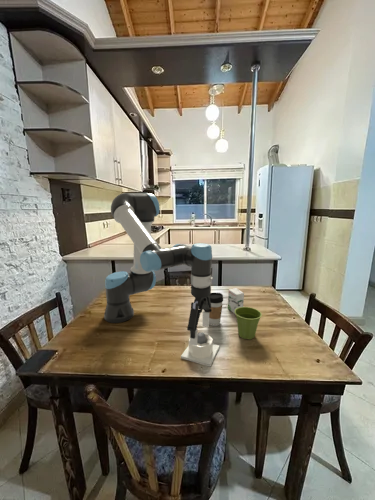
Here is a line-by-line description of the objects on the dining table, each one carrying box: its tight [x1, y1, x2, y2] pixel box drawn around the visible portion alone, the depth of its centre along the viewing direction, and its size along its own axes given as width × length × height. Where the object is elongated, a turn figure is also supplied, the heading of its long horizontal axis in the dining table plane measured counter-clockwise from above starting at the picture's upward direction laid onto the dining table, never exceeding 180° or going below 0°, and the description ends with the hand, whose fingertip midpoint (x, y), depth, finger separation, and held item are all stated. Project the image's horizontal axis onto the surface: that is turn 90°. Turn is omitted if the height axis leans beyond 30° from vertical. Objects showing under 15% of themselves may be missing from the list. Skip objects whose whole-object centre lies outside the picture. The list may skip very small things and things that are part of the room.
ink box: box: [227, 287, 245, 315], centre depth 128 cm, size 9×5×12 cm, turn 23°
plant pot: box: [234, 306, 263, 340], centre depth 104 cm, size 12×12×11 cm
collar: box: [188, 333, 214, 359], centre depth 92 cm, size 9×9×5 cm
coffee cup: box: [209, 292, 224, 327], centre depth 115 cm, size 8×8×15 cm
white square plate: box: [180, 332, 220, 367], centre depth 92 cm, size 12×12×8 cm
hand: (200, 334), depth 92 cm, fingers open, 13 cm apart
